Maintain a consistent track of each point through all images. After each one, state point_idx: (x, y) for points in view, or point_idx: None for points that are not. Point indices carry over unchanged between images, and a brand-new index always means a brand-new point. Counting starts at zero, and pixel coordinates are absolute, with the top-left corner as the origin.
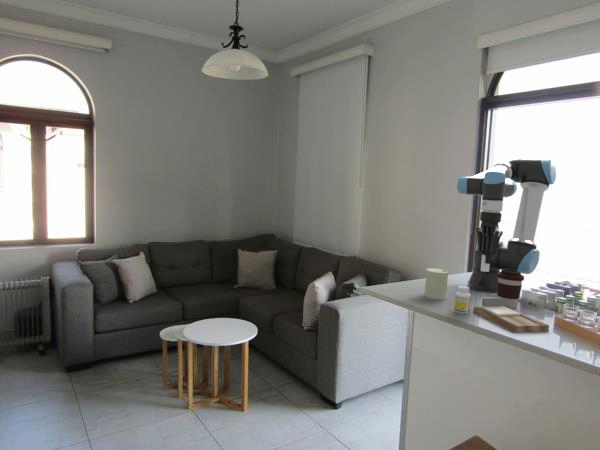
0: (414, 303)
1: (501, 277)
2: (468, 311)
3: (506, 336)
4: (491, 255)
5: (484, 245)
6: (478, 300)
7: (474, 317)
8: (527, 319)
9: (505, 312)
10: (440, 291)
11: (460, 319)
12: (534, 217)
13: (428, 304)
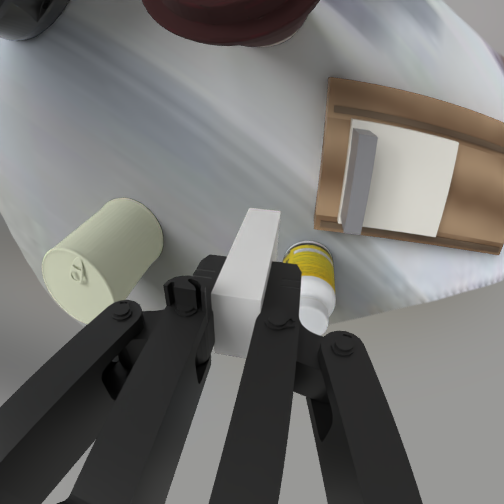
0: None
1: (246, 43)
2: (332, 259)
3: (492, 283)
4: (303, 326)
5: (182, 434)
6: (168, 83)
7: (367, 259)
8: (487, 153)
9: (435, 193)
10: (149, 255)
11: (367, 309)
12: None
13: None
